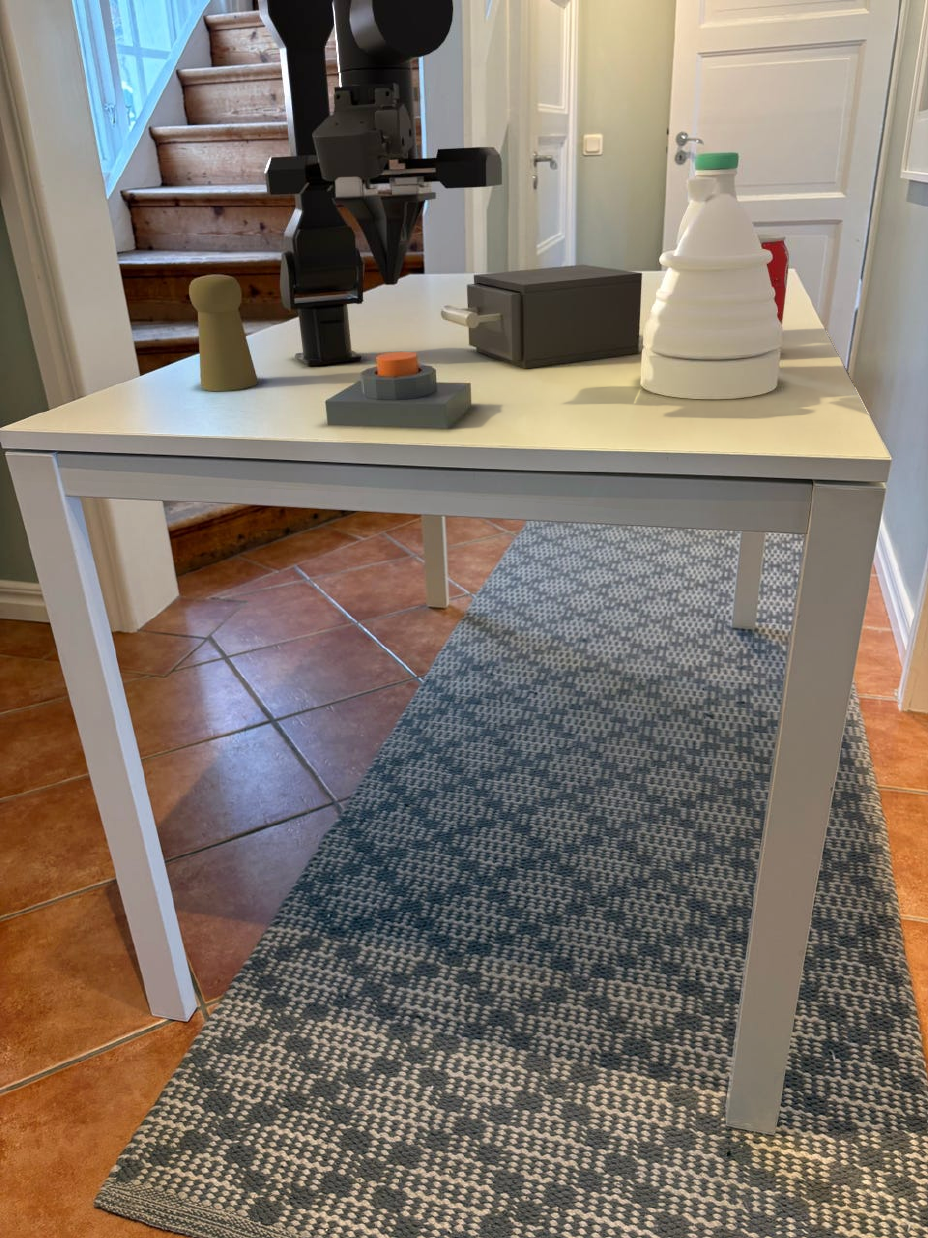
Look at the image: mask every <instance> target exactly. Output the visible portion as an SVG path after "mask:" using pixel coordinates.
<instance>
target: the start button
mask: <svg viewBox="0 0 928 1238" xmlns="http://www.w3.org/2000/svg"><path fill="white" fill-rule="evenodd" d="M375 359H376V367H377V371H378V375H381V376H405V375H412V374H416V373H419V372H418V364H419V358H418V354H417V353H416V352H411V351H393V352H386V353H380V354H379V355H376V358H375Z"/></svg>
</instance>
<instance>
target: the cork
mask: <svg viewBox="0 0 928 1238" xmlns="http://www.w3.org/2000/svg"><path fill="white" fill-rule="evenodd" d="M188 287H189V288H188V295H189V298H190V302H191V305H192V306H193V307H194V308H195V310H196V311H197V323H198V325H197V326H198V346H199V347H198V348H199V370H200V371H199V372H200V374H199V375H200V389H201V390H204V391H207V392H208V391H209V392H231V391H239V390H244V389H248V388H252V387H254V386H257V385H258V384H259V379H258V375H257V372H256V368H255V364H254V361H253V358H252V354H251V351H250V346H249V343H248V338H247V335H246V332H245V328H244V324H243V321H242V318H241V317H242V316H241V313H240V311H239V307H240V305H241V303H242V297H243V294H242V289H241V286H240V283H239V282H238V281H237V279H236V278H235V277H233V276H231V275H225V274H207V275H203V276H202V275H201V276H200V277H196V278H194V279H193V280H191V281H190V284H189V286H188Z"/></svg>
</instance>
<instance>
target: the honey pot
mask: <svg viewBox="0 0 928 1238" xmlns="http://www.w3.org/2000/svg"><path fill="white" fill-rule="evenodd" d="M715 184H716V178H699V179H696V178H687V179H686V189H687V193H688V195H689V197H690V198H691V199H692V200H694V201H695V202H698V203H701V202H706V203H705V204H704V205H703V206H702V207H701V208H700V209H699V210H698V212H697V213H696V214H695V216H694V217H693V219H692V220H691V222H690V223H689V225H688V227H687V229H686V230H685V232H684V234H683V236H682V238H681V240H680V242H679V244H678V246H677V248H676V247H675V249H673V250H667V251H664V252H662V253H661V255H660V256H659V263H660V265H662V266H663V267H666V268H667V270H666V272H665V275H664V278H663V280H662V282H661V286H660V287H659V288H658V289H657V291H656V293H655V303H654V304H653V305H652V307H651V311H650V318H649V319H648V320H647V322H646V323H645V325H644V327H643V332H642V339H643V341H642V346H643V348H642V350H641V362H640V363H641V364H640V365H641V366H640V384H639V385H640V386H641V387H642V389H644V390H646V391H647V392H650V393H654V394H658V395H660V396H666V397H673V398H679V399H681V398H682V399H691V400H731V399H733V400H735V399H742V398H750V397H756V396H760V395H764V394H767V393H770V392H772V391H774V390H775V389H776V388H778V387H777V386H778V380H779V378H778V377H779V370H780V361H781V355H782V354H781V353H782V352H781V348H780V347H781V346H782V338H783V334H784V331H783V324H782V325H781V323H780V321H779V319H778V318H777V313H778V308H777V305H776V303H775V301H774V297H775V290H774V288H773V287H772V286H771V281H770V277H769V273H768V269H767V265H766V264H767V263H769V262H771V260H772V258H773V257H772V253H771V252H770V251H769V250H765V249H762V247H761V244H760V241H759V238H758V235H759V234H758V232H757V230H756V228H755V226H754V223H753V221H752V219H751V217H750V215H749V213H748V211H747V210H746V209H745V207H744V206H743V204H742V203H741V202H740V201H739V200H738V198H737V199H735V198H734V197H732V196H730V194H712V192H713V190H714V187H715Z"/></svg>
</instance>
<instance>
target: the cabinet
mask: <svg viewBox="0 0 928 1238" xmlns="http://www.w3.org/2000/svg"><path fill="white" fill-rule="evenodd" d="M642 283H643V273H642V272H637V271H630V270H623V269H617V268H609V267H601V266H595V265H588V264H575V265H563V266H555V267H553V266H551V267H544V268H543V267H541V268H532V269H522V270H512V271H500V272H499V271H498V272H488V273H479V274H478V273H477V274H473V284H479V285H484V286H488V287H489V285H490V286H495V287H499V288H504V289H509V290H513V291H518V292H521V325H522V359H521V360H514V361H512V360H510V359H507V358H504V357H501V356H498V355H496V354H493V353H490V352H487V351H484V350H482V349H479V348H476V347H475V351H476V352H478V353H481V354H483V355H486V356H488V357H492V358H494V359H497V360H500V361H502V362H505V363H508V364H511V365H513V366H516V367H519V368H522V369H525V370H526V369H532V368H533V369H534V368H540V367H549V366H555V365H562V364H564V365H565V364H570V363H578V362H585V361H591V360H598V359H599V360H600V359H606V358H614V357H620V356H621V357H622V356H628V355H629V356H630V355H635V354H639V349H640V348H639V347H640V326H641V307H642V306H641V303H642V287H643V286H642Z"/></svg>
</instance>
